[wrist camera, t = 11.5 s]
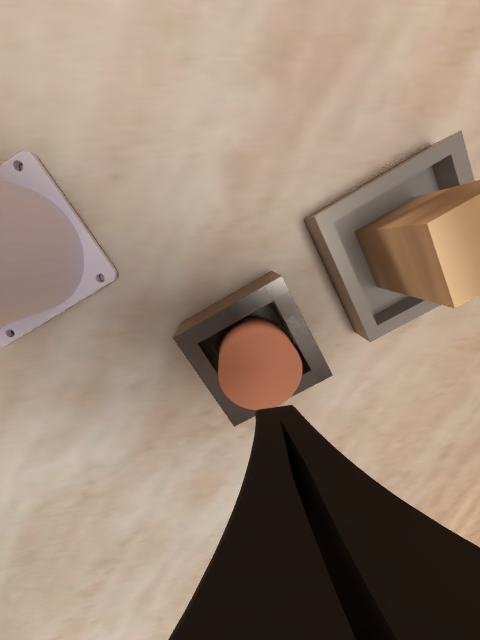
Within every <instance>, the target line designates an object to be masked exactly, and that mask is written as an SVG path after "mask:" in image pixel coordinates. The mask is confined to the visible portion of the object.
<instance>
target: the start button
mask: <svg viewBox="0 0 480 640" xmlns="http://www.w3.org/2000/svg"><path fill="white" fill-rule="evenodd" d="M301 378H302V362H301V358H300V356H299V354H298V352H297V350H296V349H295V347H294V346H293V344H292V343H291V341H290V340H289V339H288V337H287V336H286V334H285V333H284V331H283V330H282V329H281V328H280V327H279V326H278V325H277V324H276V323H274V322H273V321H271V320H268V319H265V318H260V317H250V318H245V319H242V320H240V321H238V322H236V323H234V324H233V325H232V326H231V327H229V328H228V330H227V331H226V332H225V334H224V335H223V337H222V339H221V342H220V347H219V364H218V379H219V384H220V386H221V389H222V390H223V392H224V394H225V395H226V396H227V397H228V398H229V399H230V400H231V401H232V402H233V403H235V404H237V405H238V406H241V407H243V408H246V409H251V410H258V409H266V408H273V407H276V406H278V405H280V404H282V403H284V402H285V401H286V400H288V399H289V398H290V397H291V396H292V395H293V394H294V392H295V391H296V390H297V388H298V386H299V384H300V381H301Z"/></svg>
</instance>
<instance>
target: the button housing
mask: <svg viewBox="0 0 480 640" xmlns="http://www.w3.org/2000/svg"><path fill="white" fill-rule="evenodd" d="M271 302H272V304H273V306H274V308H275V310H276V311H277V313H278V315H279V317H280V319H281V321H282V322H283V324H284V326H285V328H286V330H287V332H288V334H289V335H290V337H291V339H292V341H293V343H294V345H295V346H296V348H297V350H298V351H297V352H298V354H299V356H300V358H301V362H302V378H301V381H300V384H299V386H298V388H297V390H296V391H295V392H294V394H293V395H292V396H294V395H296V394H298V393H300V392H302V391H304V390H306V389H307V388H309V387H311V386H313V385H315V384H317V383H319V382H321V381H323V380H325V379H327V378H329V377H330V376H332V373H331V371H330V369H329V367H328V365H327V363H326V361H325V359H324V357H323V355H322V353H321V351H320V350H319V348H318V346H317V344H316V342H315V340H314V338H313V336H312V334H311V332H310V330H309V328H308V326H307V324H306V322H305V320H304V318H303V316H302V315H301V313H300V311H299V309H298V307H297V305H296V303H295V301H294V299H293V297H292V295H291V293H290V291H289V289H288V287H287V285H286V283H285V281H284V280H283V278H282V276H281V275H279V274H277V273H275V272H273V271H271V272H269V273H268V274H266V275H264V276H262V277H261V278H259V279H257V280H255V281H254V282H252V283H250V284H248V285H247V286H245V287H243V288H241V289H240V290H238V291H236V292H234V293H233V294H231V295H229V296H227V297H226V298H224V299H222V300H220V301H219V302H217V303H215V304H213V305H212V306H210V307H208V308H206V309H205V310H203V311H201V312H200V313H198V314H196V315H194V316H193V317H191V318H189V319H187V320H186V321H184V322H182V323H181V324H180V326H179V328H178V330H177V332H176V333H175V335H174V337H173V339H174V340H175V342H176V343H177V345H178V346H179V347H180V349H181V350H182V352H183V353H184V355H185V356H186V358H187V359H188V360H189V362H190V363H191V365H192V366H193V368H194V369H195V371H196V372H197V373H198V375H199V376H200V378H201V379H202V381H203V382H204V384H205V385H206V386H207V388H208V389H209V391H210V392H211V394H212V395H213V397H214V398H215V399H216V401H217V402H218V404H219V405H220V407H221V408H222V410H223V411H224V412H225V414H226V415H227V417H228V418H229V420H230V421H231V423H232V424H233V425H234V427H235V426H236V425H238V424H240V423H242V422H244V421H246V420H248V419H250V418H252V417H254V416H256V415H255V412H256V411H257V410H251V409H246V408H243V407H241V406H238V405H237V404H235V403H233V402H232V401H231V400H230V399H229V398H228V397H227V396H226V395H225V394H224V392H223V390H222V389H221V386H220V384H219V379H218V364H219V354H218V352H217V351H216V349H215V347H214V346H213V344H212V343H211V341H210V340H209V338H208V337H210V336H212V335H214V334H216V333H217V332H219V331H221V330H223V329H224V328H226V327H228V326H230V325H232V324H233V323H235V322H237V321H239V320H240V319H242V318H244V317H246V316H248V315H249V314H251V313H253V312H255V311H256V310H258V309H260V308H262V307H264V306H265V305H267V304H269V303H271ZM292 396H291V397H292Z"/></svg>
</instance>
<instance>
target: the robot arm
mask: <svg viewBox="0 0 480 640" xmlns="http://www.w3.org/2000/svg"><path fill="white" fill-rule="evenodd" d="M20 163H22V164H23V170H22V171H20V170H19V164H20ZM100 274H102V275H103V276H104V278H105V280H104V282H103V281H101V280H100V279H99V275H100ZM117 276H118V274H117V271H116V269H115V267H114V266H113V265H112V263H111V262H110V260H109V259H108V257H107V256H106V255H105V253H104V252H103V250H102V249H101V247H100V246H99V245H98V243H97V242H96V240H95V239H94V237H93V236H92V235H91V233H90V232H89V230H88V229H87V228H86V226H85V225H84V223H83V222H82V220H81V219H80V218H79V216H78V215H77V213H76V212H75V210H74V209H73V208H72V206H71V205H70V203H69V202H68V201H67V199H66V198H65V196H64V195H63V193H62V192H61V191H60V189H59V188H58V186H57V185H56V183H55V182H54V181H53V179H52V178H51V176H50V175H49V173H48V172H47V171H46V169H45V168H44V166H43V165H42V164H41V162H40V161H39V159H38V158H37V157H36V156H35V155H34V154H32V153H30V152H28V151H21V152H19V153H17V154H16V155H14V156H13V157H11V158H10V159H8V160H7V161H6V162H4V163H3V164H1V165H0V348H2V347H5V346H7V345H9V344H11V343H12V342H14V341H15V340H17V339H19V338H20V337H22V336H24V335H25V334H27V333H29V332H30V331H32V330H34V329H35V328H37V327H39V326H40V325H42V324H44V323H45V322H47V321H48V320H50V319H52V318H53V317H55V316H57V315H58V314H60V313H62V312H63V311H65V310H67V309H68V308H70V307H72V306H73V305H75V304H76V303H78V302H80V301H81V300H83V299H85V298H86V297H88V296H90V295H91V294H93V293H95V292H96V291H98V290H100V289H101V288H103V287H105V286H106V285H108V284H109V283H111V282H113V281H114V280H115V279H116V278H117ZM11 330H12V331H14V333H15V334H14V335H13V334H12V333H11ZM255 415H256V427H255V435H254V441H253V446H252V451H251V455H250V459H249V463H248V466H247V470H246V474H245V477H244V480H243V484H242V487H241V490H240V493H239V495H238V498H237V501H236V504H235V506H234V509H233V512H232V514H231V516H230V519H229V521H228V524H227V526H226V528H225V531H224V533H223V535H222V538H221V540H220V542H219V544H218V547H217V549H216V551H215V553H214V555H213V557H212V559H211V561H210V563H209V565H208V567H207V569H206V571H205V573H204V575H203V577H202V579H201V581H200V583H199V585H198V587H197V589H196V591H195V593H194V595H193V597H192V599H191V601H190V602H189V604H188V606H187V608H186V610H185V612H184V614H183V615H182V617H181V619H180V620H179V622H178V624H177V626H176V627H175V629H174V631H173V633H172V634H171V636H170V638H169V640H480V547H478V546H476V545H475V544H473V543H471V542H469V541H468V540H466V539H464V538H462V537H461V536H459V535H457V534H456V533H454V532H452V531H451V530H449V529H447V528H445V527H444V526H442V525H441V524H439V523H437V522H436V521H434V520H433V519H431V518H430V517H428V516H426V515H425V514H423V513H422V512H420V511H418V510H417V509H415V508H414V507H412V506H411V505H409V504H407V503H406V502H404V501H403V500H402V499H400V498H399V497H397V496H396V495H394V494H393V493H391V492H390V491H389V490H387V489H386V488H384V487H383V486H382V485H380V484H379V483H378V482H376V481H375V480H374V479H372V478H371V477H370V476H368V475H367V474H366V473H365V472H363V471H362V470H361V469H360V468H358V467H357V466H356V465H355V464H353V463H352V462H351V461H350V460H349V459H347V458H346V457H345V456H344V455H343V454H342V453H341V452H339V451H338V450H337V449H336V448H335V447H334V446H333V445H332V444H331V443H329V442H328V441H327V440H326V439H325V438H324V437H323V436H322V435H321V434H320V433H319V432H318V431H317V430H316V429H315V428H314V427H313V426H312V425H311V424H310V423H309V422H308V421H307V420H306V419H305V418H304V417H303V416H302V415H301V414H300V412H299V411H298V410H297V409H296V408H295V407H294V406H293V405H289V406H281V407H273V408H266V409H258V410H257V411H256V412H255Z"/></svg>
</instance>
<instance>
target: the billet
mask: <svg viewBox="0 0 480 640" xmlns="http://www.w3.org/2000/svg"><path fill="white" fill-rule="evenodd" d="M355 234H356V237H357V239H358V242H359V244H360V246H361V249H362V251H363V254H364V256H365V258H366V261H367V263H368V266H369V268H370V271H371V273H372V275H373V278H374V280H375V283H376V285H377V287H378V288H382V289H386V290H389V291H393V292H397V293H400V294H404V295H408V296H412V297H415V298H419V299H423V300H426V301H430V302H434V303H437V304H441V305H445V306H448V307H452V308H456V307H458V306H460V305H462V304H464V303H466V302H468V301H470V300H472V299H474V298H475V297H477V296H479V295H480V180H478V181H475V182H471V183H467V184H463V185H459V186H455V187H451V188H447V189H443V190H440V191H436V192H432V193H428V194H424V195H420V196H416V197H413V198H412V199H410V200H408V201H407V202H405V203H403V204H401V205H400V206H398V207H396V208H394V209H393V210H391V211H389V212H387V213H386V214H384V215H382V216H381V217H379V218H377V219H375V220H374V221H372V222H370V223H368V224H367V225H365V226H363V227H361V228H360V229H358V230H356V231H355Z"/></svg>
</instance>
